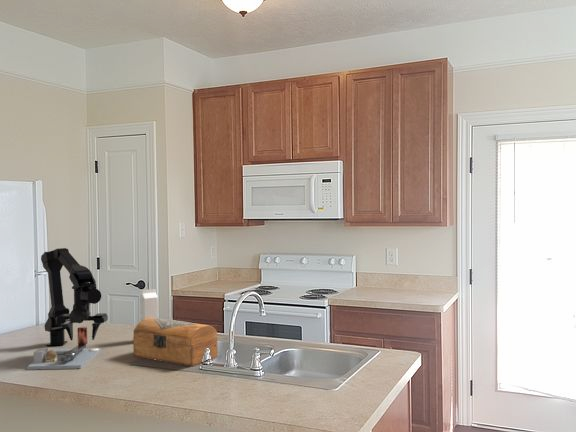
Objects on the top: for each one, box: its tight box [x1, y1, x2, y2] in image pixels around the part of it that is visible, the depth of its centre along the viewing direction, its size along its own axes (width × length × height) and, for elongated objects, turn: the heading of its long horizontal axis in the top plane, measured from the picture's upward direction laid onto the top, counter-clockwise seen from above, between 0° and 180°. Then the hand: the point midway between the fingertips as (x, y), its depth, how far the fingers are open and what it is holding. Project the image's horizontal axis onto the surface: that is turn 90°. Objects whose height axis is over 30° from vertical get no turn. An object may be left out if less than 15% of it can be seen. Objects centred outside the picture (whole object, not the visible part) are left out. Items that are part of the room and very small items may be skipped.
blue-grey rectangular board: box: [26, 347, 101, 371], centre depth 212 cm, size 24×19×5 cm
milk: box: [139, 288, 159, 322], centre depth 242 cm, size 6×6×22 cm
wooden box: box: [132, 317, 219, 367], centre depth 214 cm, size 30×16×14 cm, turn 58°
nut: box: [46, 349, 56, 360], centre depth 207 cm, size 4×4×4 cm
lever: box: [57, 326, 88, 361], centre depth 213 cm, size 5×22×8 cm, turn 2°
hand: (82, 340), depth 222 cm, fingers open, 8 cm apart
